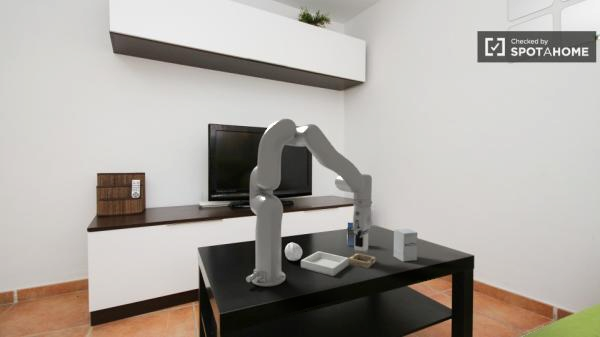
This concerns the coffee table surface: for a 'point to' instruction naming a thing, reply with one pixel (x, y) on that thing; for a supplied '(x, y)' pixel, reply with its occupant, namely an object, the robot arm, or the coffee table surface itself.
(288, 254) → the white grooved ball
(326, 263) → the parts tray
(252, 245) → the coffee table surface
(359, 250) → the grey white rectangular block
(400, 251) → the supplement box
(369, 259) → the tan wooden flat frame
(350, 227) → the label tape cartridge
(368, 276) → the coffee table surface
